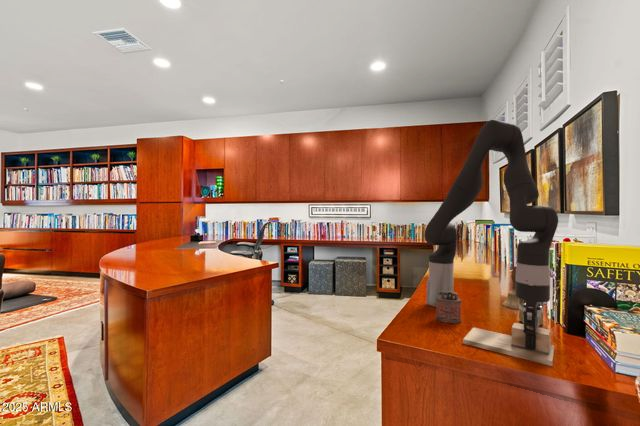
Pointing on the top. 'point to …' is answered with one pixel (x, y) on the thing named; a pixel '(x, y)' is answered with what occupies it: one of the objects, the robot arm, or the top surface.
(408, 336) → the top surface
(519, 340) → the beige rectangular block
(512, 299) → the hand bell
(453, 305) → the lighter
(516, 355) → the birch board
